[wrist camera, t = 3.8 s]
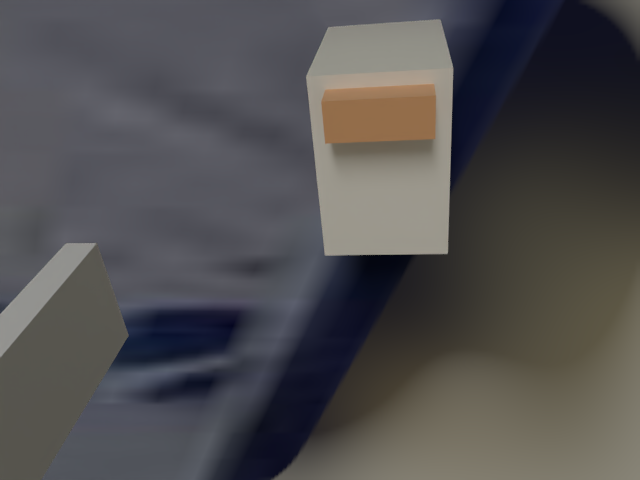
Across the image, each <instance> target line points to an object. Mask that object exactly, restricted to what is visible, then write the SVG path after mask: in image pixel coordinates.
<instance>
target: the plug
mask: <svg viewBox="0 0 640 480" xmlns="http://www.w3.org/2000/svg"><path fill="white" fill-rule="evenodd" d="M306 79H307V89H308V98H309V108H310V117H311V127H312V136H313V146H314V155H315V165H316V174H317V184H318V193H319V203H320V212H321V222H322V231H323V241H324V250H325V255H399V254H448V227H449V194H450V160H451V126H452V92H453V65H452V61H451V58H450V54H449V50H448V46H447V43H446V39H445V35H444V31H443V27H442V24H441V20H440V19H438V20H424V21H410V22H396V23H381V24H367V25H353V26H339V27H328V29H327V31H326V34H325V36H324V38H323V40H322V43H321V45H320V47H319V49H318V51H317V54H316V56H315V58H314V60H313V62H312V65H311V67H310V69H309V71H308V74H307V76H306Z"/></svg>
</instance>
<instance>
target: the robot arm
mask: <svg viewBox="0 0 640 480" xmlns="http://www.w3.org/2000/svg"><path fill="white" fill-rule="evenodd" d="M128 336H129V335H128V332H127V330H126V327H125V324H124V321H123V318H122V315H121V312H120V309H119V306H118V303H117V300H116V298H115V295H114V292H113V289H112V286H111V283H110V280H109V277H108V274H107V271H106V269H105V266H104V263H103V260H102V257H101V254H100V251H99V248H98V245H97V243H66V244H65V245H64V246H63V247H62V248H61V249H60V250H59V251H58V253H57V254H56V255H55V256H54V257H53V258H52V259H51V260H50V261H49V262H48V263H47V264H46V265H45V267H44V268H43V269H42V270H41V271H40V272H39V273H38V274H37V275H36V276H35V277H34V278H33V279H32V281H31V282H30V283H29V284H28V285H27V286H26V287H25V288H24V289H23V290H22V291H21V292H20V294H19V295H18V296H17V297H16V298H15V299H14V300H13V301H12V302H11V303H10V304H9V305H8V306H7V308H6V309H5V310H4V311H3V312H2V313H1V314H0V480H41V479H42V477H43V476H44V474H45V472H46V471H47V469H48V468H49V466H50V464H51V463H52V461H53V459H54V458H55V456H56V454H57V453H58V451H59V449H60V448H61V446H62V444H63V443H64V441H65V439H66V438H67V436H68V435H69V433H70V431H71V430H72V428H73V426H74V425H75V423H76V421H77V420H78V418H79V416H80V415H81V413H82V411H83V410H84V408H85V407H86V405H87V403H88V402H89V400H90V398H91V397H92V395H93V393H94V392H95V390H96V388H97V387H98V385H99V383H100V382H101V380H102V378H103V377H104V375H105V374H106V372H107V370H108V369H109V367H110V365H111V364H112V362H113V360H114V359H115V357H116V355H117V354H118V352H119V350H120V349H121V347H122V345H123V344H124V342H125V341H126V339H127V337H128Z"/></svg>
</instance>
